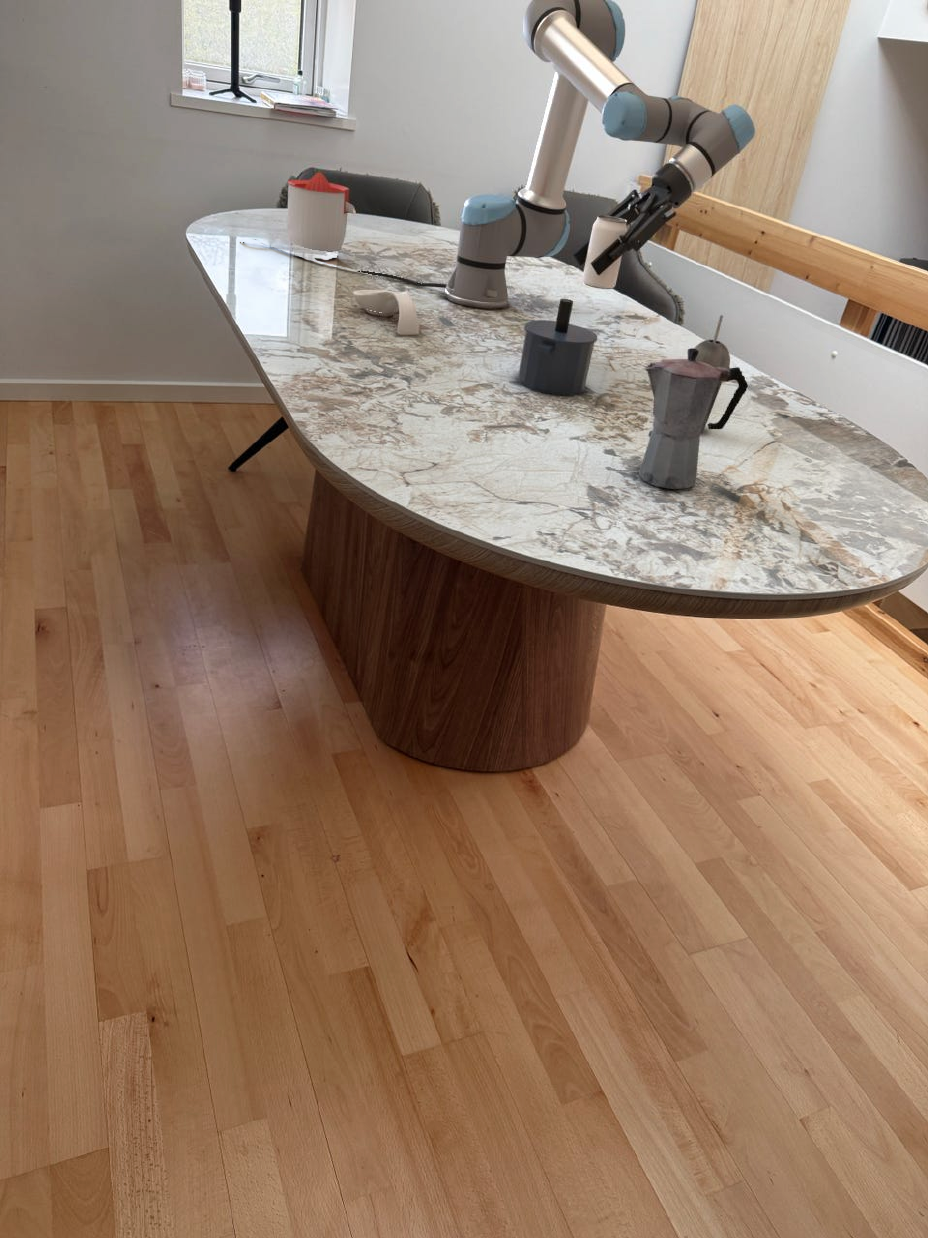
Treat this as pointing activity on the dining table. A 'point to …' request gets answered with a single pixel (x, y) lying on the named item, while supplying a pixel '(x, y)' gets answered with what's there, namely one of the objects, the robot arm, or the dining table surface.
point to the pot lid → (561, 328)
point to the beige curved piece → (390, 307)
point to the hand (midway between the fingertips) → (585, 264)
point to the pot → (554, 366)
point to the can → (600, 240)
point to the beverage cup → (713, 359)
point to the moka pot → (682, 417)
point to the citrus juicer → (318, 213)
